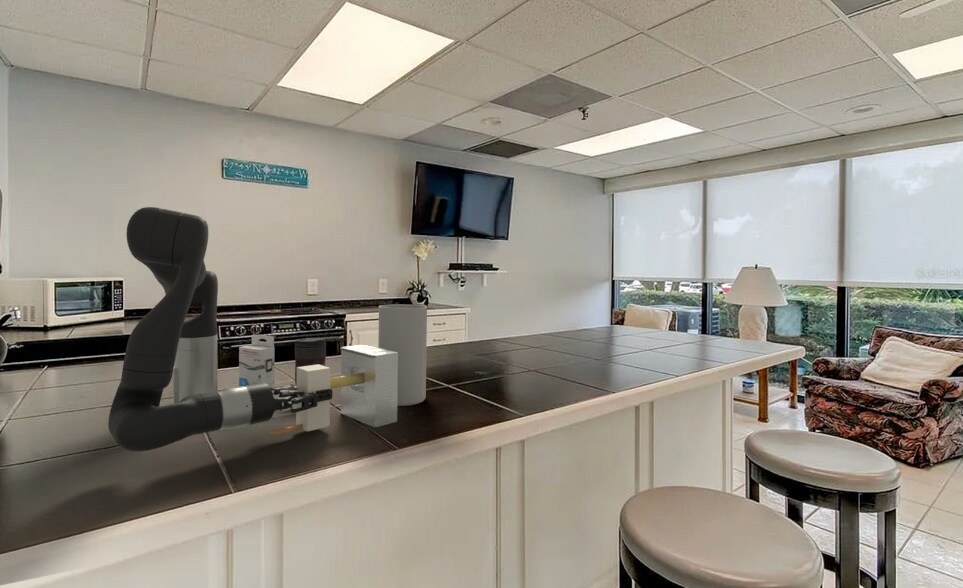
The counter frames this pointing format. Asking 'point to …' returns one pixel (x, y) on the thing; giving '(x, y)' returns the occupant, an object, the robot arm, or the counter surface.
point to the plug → (315, 381)
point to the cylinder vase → (406, 348)
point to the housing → (370, 384)
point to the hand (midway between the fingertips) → (324, 391)
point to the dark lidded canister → (309, 353)
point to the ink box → (257, 361)
